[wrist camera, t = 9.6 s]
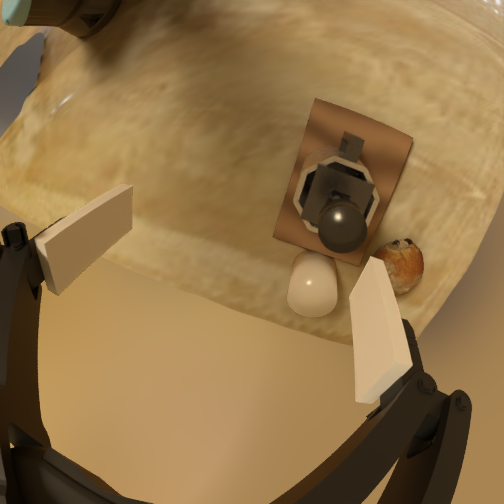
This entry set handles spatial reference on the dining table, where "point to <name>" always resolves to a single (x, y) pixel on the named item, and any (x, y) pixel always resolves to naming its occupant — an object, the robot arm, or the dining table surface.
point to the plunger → (340, 219)
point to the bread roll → (402, 264)
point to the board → (372, 156)
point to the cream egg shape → (312, 284)
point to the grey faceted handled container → (335, 181)
